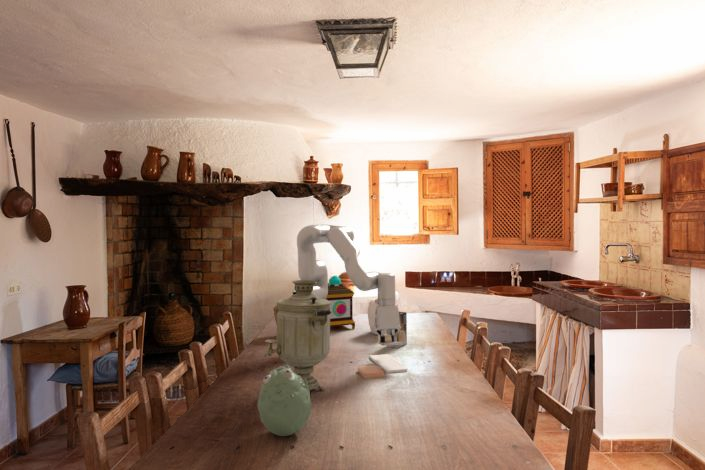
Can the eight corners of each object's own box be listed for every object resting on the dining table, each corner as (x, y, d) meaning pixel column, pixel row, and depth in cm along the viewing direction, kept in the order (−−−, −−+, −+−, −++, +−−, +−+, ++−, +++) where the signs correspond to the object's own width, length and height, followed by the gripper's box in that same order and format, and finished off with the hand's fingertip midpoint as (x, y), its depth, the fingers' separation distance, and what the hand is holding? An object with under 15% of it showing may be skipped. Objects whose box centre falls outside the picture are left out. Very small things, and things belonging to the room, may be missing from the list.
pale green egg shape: (316, 421, 162) (316, 358, 161) (305, 449, 143) (305, 376, 142) (266, 420, 163) (266, 357, 162) (249, 447, 144) (249, 375, 143)
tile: (357, 372, 214) (364, 379, 205) (357, 366, 214) (364, 373, 205) (376, 370, 216) (384, 377, 207) (376, 365, 216) (384, 372, 207)
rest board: (386, 373, 211) (386, 370, 211) (369, 357, 235) (369, 355, 235) (407, 371, 214) (407, 368, 214) (388, 356, 237) (388, 354, 237)
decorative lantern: (312, 326, 303) (312, 274, 302) (343, 322, 311) (343, 272, 310) (325, 332, 285) (325, 278, 284) (358, 329, 293) (358, 276, 292)
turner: (374, 344, 231) (373, 335, 232) (389, 343, 233) (388, 334, 234) (386, 345, 214) (386, 335, 215) (402, 344, 216) (401, 334, 217)
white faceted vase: (372, 340, 267) (372, 303, 267) (365, 329, 294) (364, 295, 293) (402, 339, 269) (401, 303, 268) (392, 328, 296) (392, 295, 295)
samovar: (253, 382, 200) (252, 278, 199) (318, 374, 209) (317, 275, 208) (268, 409, 172) (267, 288, 171) (343, 399, 182) (343, 284, 180)
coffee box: (396, 342, 263) (396, 310, 262) (407, 344, 259) (407, 312, 258) (386, 346, 255) (386, 313, 255) (397, 348, 251) (397, 315, 251)
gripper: (371, 304, 218) (371, 348, 219) (407, 302, 223) (408, 345, 223) (365, 301, 226) (366, 344, 226) (401, 299, 230) (401, 341, 230)
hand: (387, 344), depth 225 cm, fingers closed on turner, 3 cm apart
